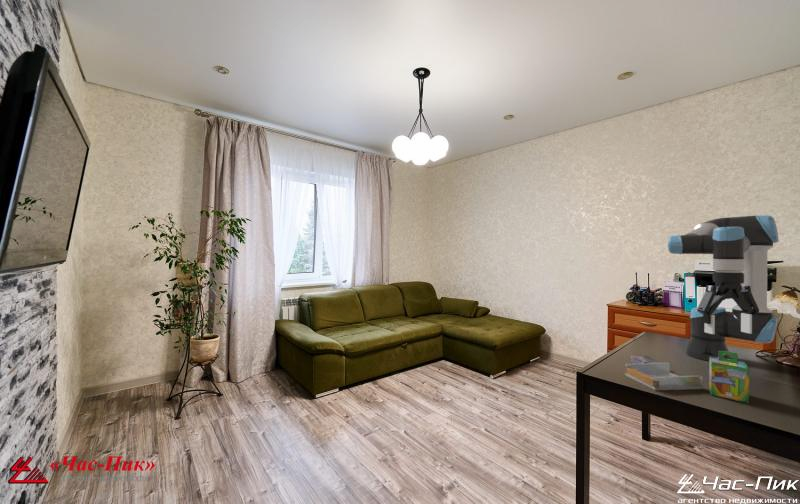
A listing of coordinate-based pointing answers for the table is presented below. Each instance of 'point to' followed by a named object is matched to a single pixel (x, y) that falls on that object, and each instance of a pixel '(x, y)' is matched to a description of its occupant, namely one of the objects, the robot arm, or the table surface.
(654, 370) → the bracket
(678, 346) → the table surface
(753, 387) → the table surface
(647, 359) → the rock
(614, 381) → the table surface
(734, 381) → the chalk box
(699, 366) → the table surface
